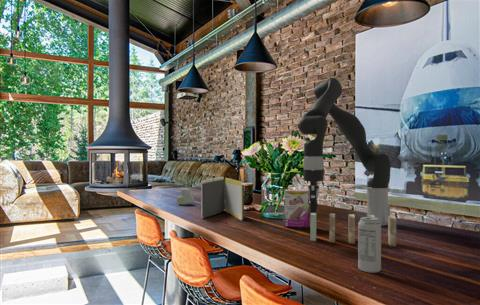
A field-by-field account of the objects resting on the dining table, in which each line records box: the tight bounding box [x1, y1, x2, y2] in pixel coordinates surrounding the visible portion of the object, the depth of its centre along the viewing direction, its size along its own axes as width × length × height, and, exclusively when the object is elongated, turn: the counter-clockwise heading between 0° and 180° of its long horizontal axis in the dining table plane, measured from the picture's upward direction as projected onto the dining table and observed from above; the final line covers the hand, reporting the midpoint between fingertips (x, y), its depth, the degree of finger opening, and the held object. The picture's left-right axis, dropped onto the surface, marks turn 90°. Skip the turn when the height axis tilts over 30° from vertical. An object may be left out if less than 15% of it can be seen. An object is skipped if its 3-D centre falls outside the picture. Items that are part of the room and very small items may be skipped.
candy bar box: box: [283, 189, 310, 229], centre depth 164 cm, size 11×5×16 cm, turn 84°
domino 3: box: [348, 213, 356, 245], centre depth 136 cm, size 2×5×10 cm, turn 166°
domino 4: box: [387, 215, 397, 247], centre depth 132 cm, size 2×5×10 cm, turn 166°
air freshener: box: [176, 188, 195, 206], centre depth 234 cm, size 11×8×10 cm
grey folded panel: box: [200, 176, 245, 221], centre depth 193 cm, size 35×22×20 cm, turn 19°
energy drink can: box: [357, 216, 382, 274], centre depth 102 cm, size 6×6×15 cm
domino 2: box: [328, 212, 336, 243], centre depth 137 cm, size 2×5×10 cm, turn 166°
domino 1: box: [309, 212, 317, 242], centre depth 139 cm, size 2×5×10 cm, turn 166°
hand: (313, 211), depth 139 cm, fingers open, 8 cm apart
